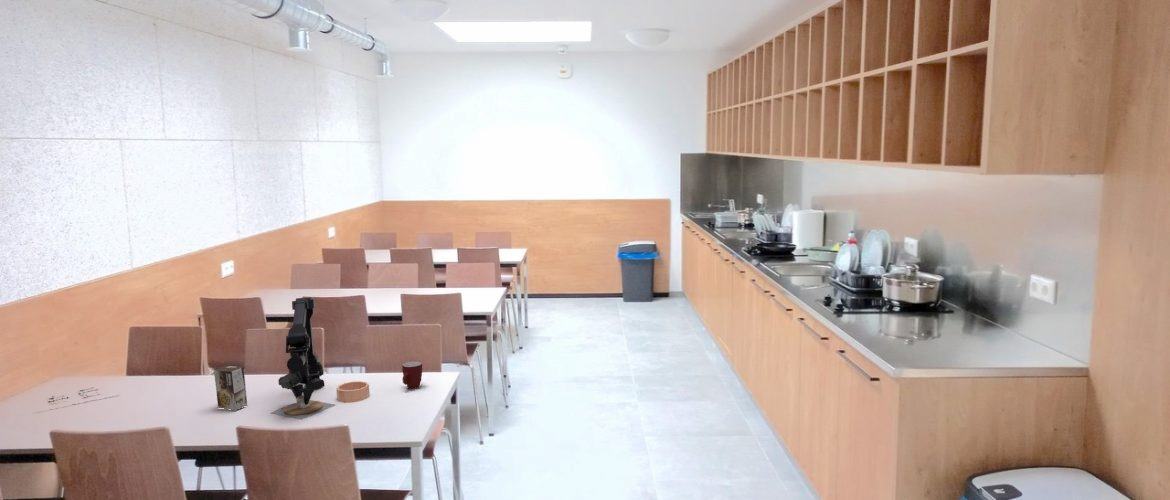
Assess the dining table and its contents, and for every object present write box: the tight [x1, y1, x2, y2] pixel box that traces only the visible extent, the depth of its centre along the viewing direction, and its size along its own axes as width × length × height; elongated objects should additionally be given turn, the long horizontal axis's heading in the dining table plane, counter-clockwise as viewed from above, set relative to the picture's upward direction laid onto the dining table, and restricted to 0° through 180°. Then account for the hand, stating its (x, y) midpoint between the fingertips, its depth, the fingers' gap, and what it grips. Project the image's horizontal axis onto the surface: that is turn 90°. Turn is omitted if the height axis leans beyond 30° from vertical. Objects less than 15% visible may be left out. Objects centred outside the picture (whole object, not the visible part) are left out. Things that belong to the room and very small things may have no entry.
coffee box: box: [213, 365, 248, 411], centre depth 290 cm, size 9×6×16 cm
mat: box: [269, 399, 336, 420], centre depth 285 cm, size 17×17×1 cm
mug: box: [401, 360, 423, 390], centre depth 308 cm, size 10×8×10 cm
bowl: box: [335, 380, 371, 403], centre depth 297 cm, size 12×12×6 cm
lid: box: [283, 394, 323, 415], centre depth 284 cm, size 14×14×5 cm
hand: (303, 403), depth 284 cm, fingers open, 3 cm apart
